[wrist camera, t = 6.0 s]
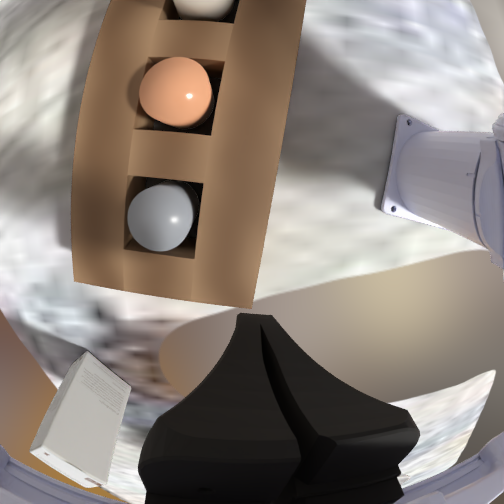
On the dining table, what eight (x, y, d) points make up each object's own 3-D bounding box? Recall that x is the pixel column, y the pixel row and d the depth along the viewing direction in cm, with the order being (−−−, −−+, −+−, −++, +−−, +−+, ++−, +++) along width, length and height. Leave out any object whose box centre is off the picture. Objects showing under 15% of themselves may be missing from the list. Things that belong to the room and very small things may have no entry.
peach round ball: (218, 80, 16) (215, 59, 12) (209, 132, 17) (202, 125, 13) (165, 76, 15) (147, 56, 11) (155, 127, 16) (133, 120, 12)
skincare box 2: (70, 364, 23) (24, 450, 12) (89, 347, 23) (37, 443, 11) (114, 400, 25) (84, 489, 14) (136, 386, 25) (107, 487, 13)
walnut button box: (299, -14, 14) (312, -41, 10) (247, 281, 21) (251, 308, 18) (147, -26, 12) (135, -51, 9) (97, 260, 20) (74, 281, 16)
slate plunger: (202, 182, 19) (194, 190, 14) (195, 233, 20) (187, 255, 16) (151, 177, 18) (129, 183, 14) (146, 227, 19) (126, 246, 15)
